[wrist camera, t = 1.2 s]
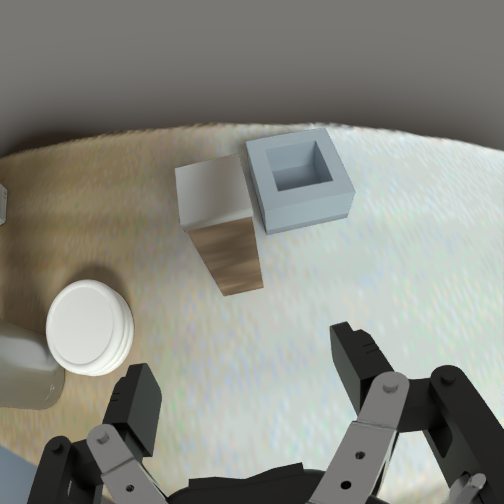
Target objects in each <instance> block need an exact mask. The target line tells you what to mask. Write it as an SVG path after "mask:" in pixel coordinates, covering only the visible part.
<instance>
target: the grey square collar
mask: <svg viewBox="0 0 504 504" xmlns="http://www.w3.org/2000/svg"><path fill="white" fill-rule="evenodd" d="M246 148H247V155H248V161H249V168H250V173H251V176H252V180H253V184H254V188H255V191H256V195H257V199H258V203H259V207H260V210H261V214H262V218H263V222H264V226H265V230H266V233H267V235H270V234H274V233H279V232H283V231H288V230H292V229H297V228H301V227H306V226H310V225H315V224H320V223H324V222H329V221H333V220H338V219H343V218H347V216H348V213H349V210H350V207H351V204H352V201H353V198H354V195H355V189H354V187H353V185H352V183H351V180H350V178H349V176H348V174H347V172H346V170H345V167H344V165H343V163H342V161H341V159H340V157H339V155H338V153H337V150H336V148H335V146H334V144H333V142H332V140H331V138H330V136H329V134H328V132H327V130H326V128H319V129H313V130H306V131H300V132H294V133H288V134H283V135H277V136H272V137H266V138H261V139H256V140H251V141H246Z"/></svg>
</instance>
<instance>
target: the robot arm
mask: <svg viewBox="0 0 504 504" xmlns="http://www.w3.org/2000/svg"><path fill="white" fill-rule="evenodd" d="M330 339H331V350H332V357H333V362H334V365H335V367H336V370H337V372H338V374H339V376H340V378H341V381H342V383H343V385H344V387H345V389H346V392H347V394H348V396H349V398H350V401H351V403H352V405H353V407H354V410H355V412H356V414H357V416H358V418H357V420H356V421H352V422H351V424H350V425H349V427H348V429H347V432H346V434H345V436H344V438H343V440H342V442H341V444H340V446H339V448H338V450H337V452H336V454H335V455H334V457H333V459H332V461H331V463H330V465H329V467H328V469H327V470H326V471H321V470H314V469H303V465H302V462H300V463H296V464H292V465H287V466H282V467H277V468H273V469H270V470H268V471H265V472H263V473H260V474H258V475H255V476H252V477H250V478H247V479H234V478H223V477H208V478H196V479H189V487H186V488H183V489H180V490H178V491H177V492H175V493H173V494H172V495H170V496H168V495H167V494H166V493H165V492H164V490H163V489H162V488H161V487H160V485H159V484H158V483H157V482H156V480H155V479H154V478H153V477H152V475H151V474H150V473H149V471H148V470H147V469H146V467H145V466H144V465H143V464H142V460H143V457H152V456H153V450H154V443H155V437H156V431H157V425H158V419H159V413H160V407H161V402H162V395H161V390H160V387H159V385H158V383H157V382H156V380H155V378H154V376H153V374H152V372H151V370H150V368H149V366H148V364H147V363H141V364H134V365H130V366H129V368H128V371H127V374H126V377H121V379H120V380H119V381H118V382H117V383H116V385H115V387H114V390H113V393H112V395H111V398H110V402H109V404H108V407H107V410H106V413H105V416H104V419H103V422H102V424H101V425H98V426H96V427H94V428H93V429H92V430H91V431H90V432H89V434H88V436H87V439H85V440H81V441H78V442H74V443H71V441H70V440H69V439H68V438H67V437H65V436H57V437H54V438H52V439H51V440H50V441H49V442H48V443H47V444H46V446H45V448H44V451H43V454H42V457H41V460H40V463H39V466H38V469H37V472H36V475H35V478H34V482H33V485H32V488H31V491H30V495H29V498H28V502H27V504H100V503H101V496H102V490H103V484H105V486H106V488H107V489H108V491H109V493H110V494H111V496H112V498H113V500H114V501H115V503H116V504H389V503H387V502H385V501H383V500H381V499H379V498H377V496H378V494H379V491H380V489H381V487H382V484H383V482H384V479H385V476H386V473H387V470H388V467H389V464H390V461H391V459H392V456H393V453H394V450H395V448H396V445H397V442H398V439H399V436H400V433H403V432H413V431H421V430H422V431H423V433H424V435H425V437H426V439H427V441H428V444H429V446H430V448H431V450H432V452H433V454H434V456H435V458H436V460H437V462H438V465H439V467H440V469H441V471H442V473H443V475H444V478H445V480H446V482H447V484H448V487H449V491H448V492H447V494H446V495H445V497H444V499H443V500H442V503H441V504H504V429H503V428H502V426H501V425H500V423H499V422H498V420H497V419H496V417H495V416H494V414H493V413H492V411H491V410H490V408H489V407H488V406H487V404H486V403H485V401H484V400H483V398H482V397H481V396H480V394H479V393H478V391H477V390H476V389H475V387H474V386H473V385H472V383H471V382H470V380H469V379H468V378H467V376H466V375H465V374H464V372H463V371H462V370H461V369H460V368H458V367H456V366H452V365H444V366H440V367H438V368H436V369H435V370H434V371H433V372H432V374H431V377H430V378H424V379H408V378H407V377H406V376H405V375H403V374H401V373H399V372H395V371H394V370H393V368H392V367H391V365H390V364H389V362H388V361H387V359H386V358H385V356H384V355H383V353H382V352H381V350H379V347H378V346H377V344H375V341H374V340H373V338H372V337H371V335H370V334H368V333H367V332H365V331H363V330H361V329H360V330H357V331H353V330H352V328H351V327H350V325H349V323H348V322H347V321H346V322H342V323H339V324H335V325H331V326H330ZM64 376H65V372H64V367H62V366H61V365H60V364H59V363H58V362H57V361H56V360H55V358H54V357H53V355H52V353H51V351H50V349H49V346H48V342H47V337H46V336H44V335H41V334H39V333H36V332H33V331H30V330H28V329H25V328H23V327H20V326H17V325H15V324H12V323H10V322H7V321H5V320H2V319H0V407H6V408H18V409H35V410H42V409H47V408H49V407H51V406H52V405H53V404H54V403H56V401H57V400H58V398H59V397H60V395H61V392H62V390H63V385H64ZM70 480H71V481H72V484H71V488H70V492H69V497H68V494H67V493H68V487H69V483H70Z"/></svg>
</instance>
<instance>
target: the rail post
mask: <svg viewBox="0 0 504 504" xmlns="http://www.w3.org/2000/svg"><path fill="white" fill-rule="evenodd" d="M175 177H176V188H177V198H178V208H179V217H180V224H181V226H182V228H183V230H184V231H185V232H186V231H187V232H188V234H189V236H190V238H191V240H192V241H193V243H194V245H195V247H196V248H197V250H198V252H199V254H200V256H201V257H202V259H203V261H204V263H205V264H206V266H207V268H208V270H209V271H210V273H211V275H212V277H213V278H214V280H215V282H216V284H217V285H218V287H219V289H220V290H221V292H222V294H223V296H228V295H232V294H237V293H242V292H246V291H250V290H255V289H259V288H264V287H263V281H262V275H261V269H260V263H259V257H258V251H257V245H256V239H255V233H254V227H253V221H252V216H253V209H252V204H251V200H250V196H249V192H248V188H247V184H246V181H245V177H244V173H243V169H242V165H241V161H240V157H239V153H238V154H233V155H229V156H224V157H220V158H216V159H211V160H207V161H203V162H199V163H195V164H191V165H187V166H183V167H179V168H175Z"/></svg>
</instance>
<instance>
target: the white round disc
mask: <svg viewBox="0 0 504 504" xmlns="http://www.w3.org/2000/svg"><path fill="white" fill-rule="evenodd" d="M46 337H47V342H48V346H49V349H50V351H51V353H52V355H53V357H54V358H55V360H56V361H57V362H58V363H59V364H60V365H61V366H62V367H64V368H65V369H67V370H69V371H71V372H73V373H77V374H82V375H88V376H100V375H104V374H107V373H109V372H111V371H113V370H114V369H116V368H117V367H118V366H119V365H120V364H121V363H122V362H123V361H124V360H125V358H126V357H127V355H128V353H129V351H130V349H131V346H132V342H133V337H134V322H133V317H132V314H131V311H130V308H129V306H128V304H127V303H126V301H125V300H124V299H123V297H122V296H121V295H120V294H119V293H117V292H116V291H114V290H113V289H111V288H110V287H108V286H107V285H106V284H104V283H102V282H99V281H96V280H89V279H87V280H79V281H76V282H73V283H71V284H70V285H68V286H67V287H65V288H64V289H63V290H62V291H61V292H60V293H59V294H58V295H57V296H56V298H55V299H54V301H53V303H52V305H51V307H50V310H49V313H48V316H47V321H46Z"/></svg>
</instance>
